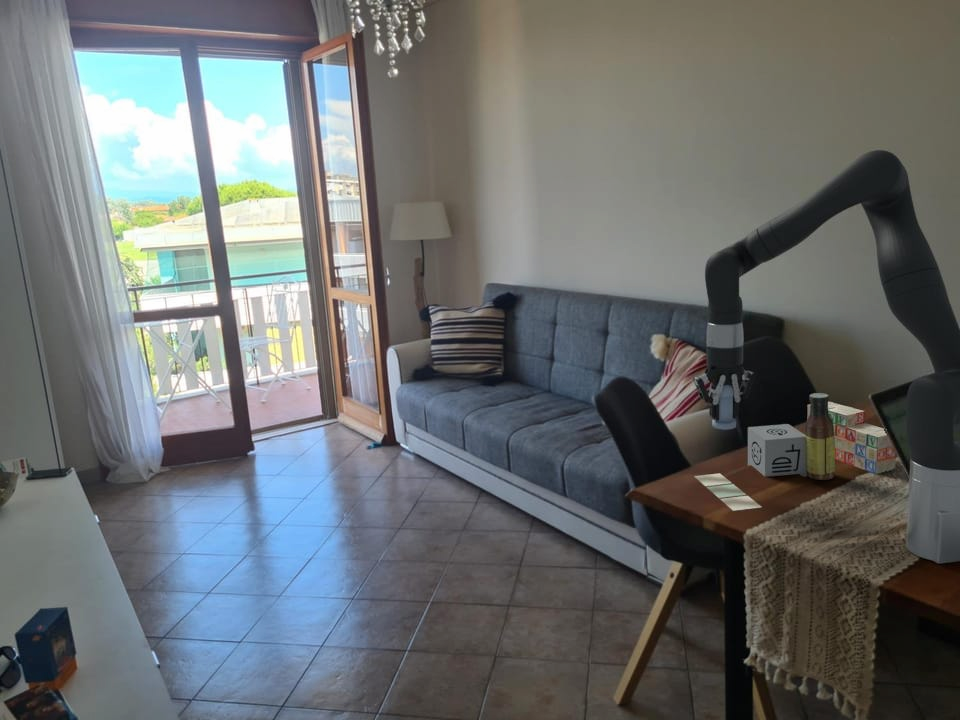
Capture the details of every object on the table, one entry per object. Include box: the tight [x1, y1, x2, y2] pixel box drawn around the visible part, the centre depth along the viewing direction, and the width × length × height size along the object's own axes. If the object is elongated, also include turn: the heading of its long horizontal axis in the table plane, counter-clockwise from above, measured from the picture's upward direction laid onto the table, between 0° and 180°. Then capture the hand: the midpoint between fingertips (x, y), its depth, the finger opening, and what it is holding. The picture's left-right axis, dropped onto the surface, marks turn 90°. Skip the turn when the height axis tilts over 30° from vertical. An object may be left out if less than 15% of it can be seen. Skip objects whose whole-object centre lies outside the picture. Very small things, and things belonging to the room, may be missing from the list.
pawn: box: [711, 385, 737, 431], centre depth 156 cm, size 5×5×10 cm
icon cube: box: [747, 423, 808, 478], centre depth 171 cm, size 10×10×10 cm
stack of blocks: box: [806, 400, 897, 475], centre depth 175 cm, size 21×6×12 cm, turn 20°
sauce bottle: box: [804, 392, 836, 481], centre depth 165 cm, size 6×6×20 cm
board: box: [694, 472, 762, 512], centre depth 160 cm, size 21×7×1 cm, turn 6°
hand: (724, 418), depth 157 cm, fingers closed on pawn, 3 cm apart
